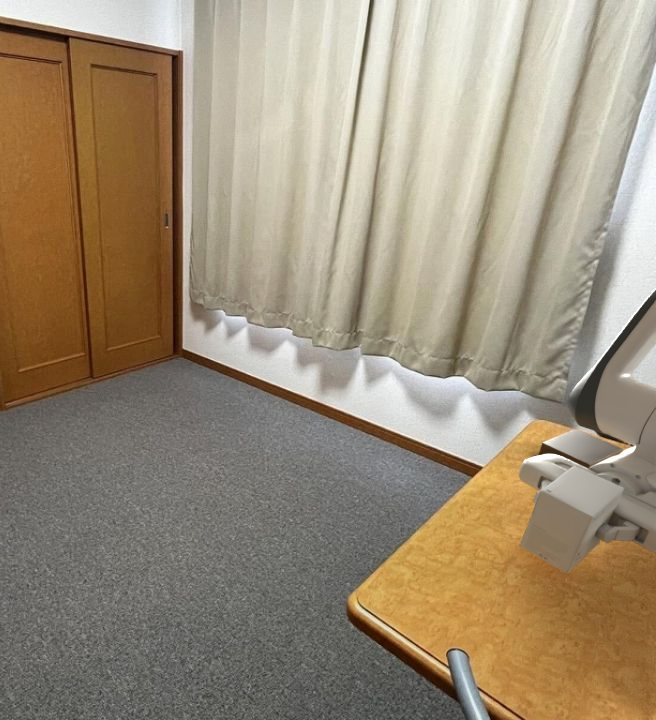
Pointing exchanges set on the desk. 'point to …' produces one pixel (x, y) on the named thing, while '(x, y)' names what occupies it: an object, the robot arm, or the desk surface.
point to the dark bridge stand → (580, 448)
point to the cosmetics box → (570, 518)
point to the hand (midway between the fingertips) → (569, 517)
